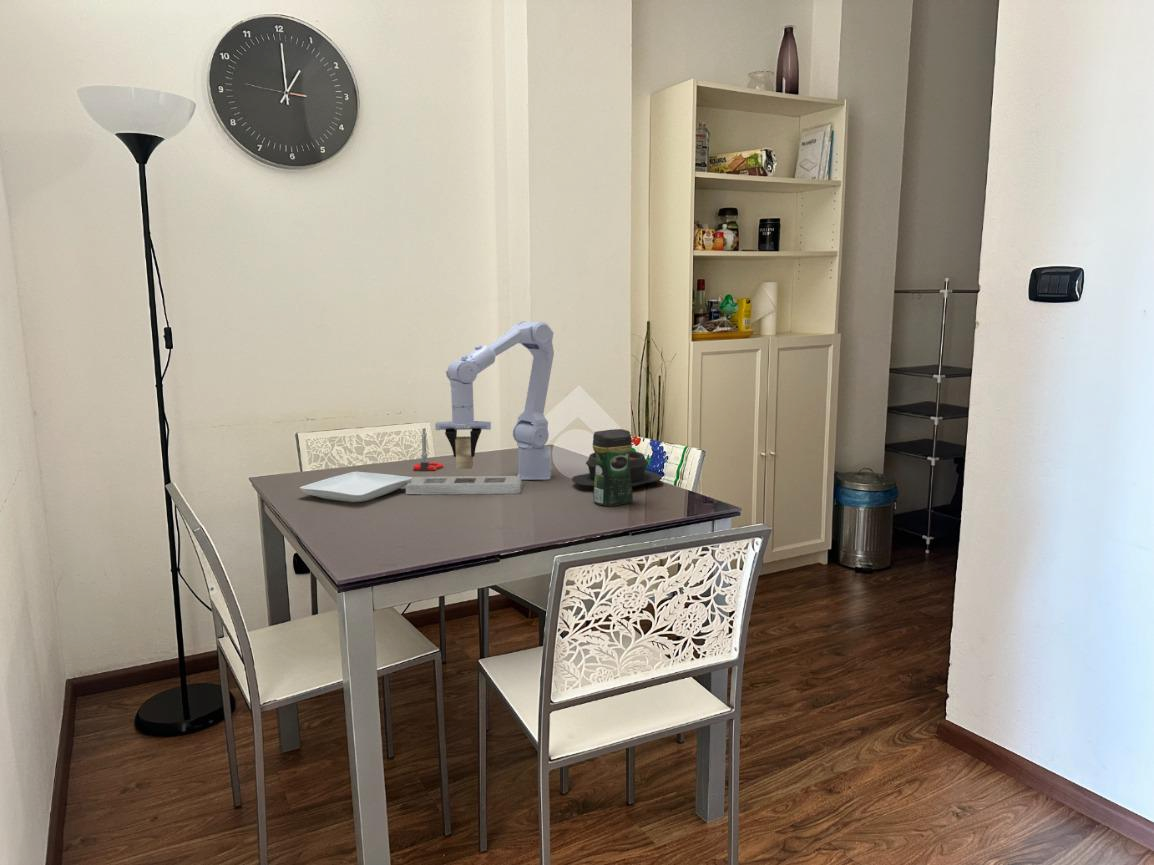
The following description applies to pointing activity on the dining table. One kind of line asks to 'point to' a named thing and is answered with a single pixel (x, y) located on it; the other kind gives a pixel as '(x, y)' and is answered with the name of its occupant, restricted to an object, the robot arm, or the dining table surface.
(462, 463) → the peg
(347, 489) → the salad plate
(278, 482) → the dining table surface
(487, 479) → the grey slotted board
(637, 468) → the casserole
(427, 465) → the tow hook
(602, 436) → the coffee jar
